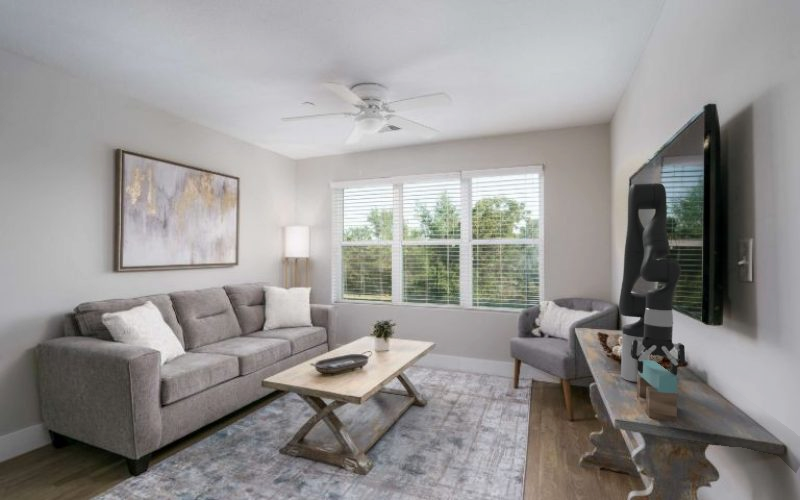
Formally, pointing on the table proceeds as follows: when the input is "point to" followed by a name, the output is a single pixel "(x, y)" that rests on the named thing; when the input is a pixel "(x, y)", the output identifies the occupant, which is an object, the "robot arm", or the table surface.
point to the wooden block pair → (656, 401)
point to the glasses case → (659, 377)
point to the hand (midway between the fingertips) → (656, 374)
